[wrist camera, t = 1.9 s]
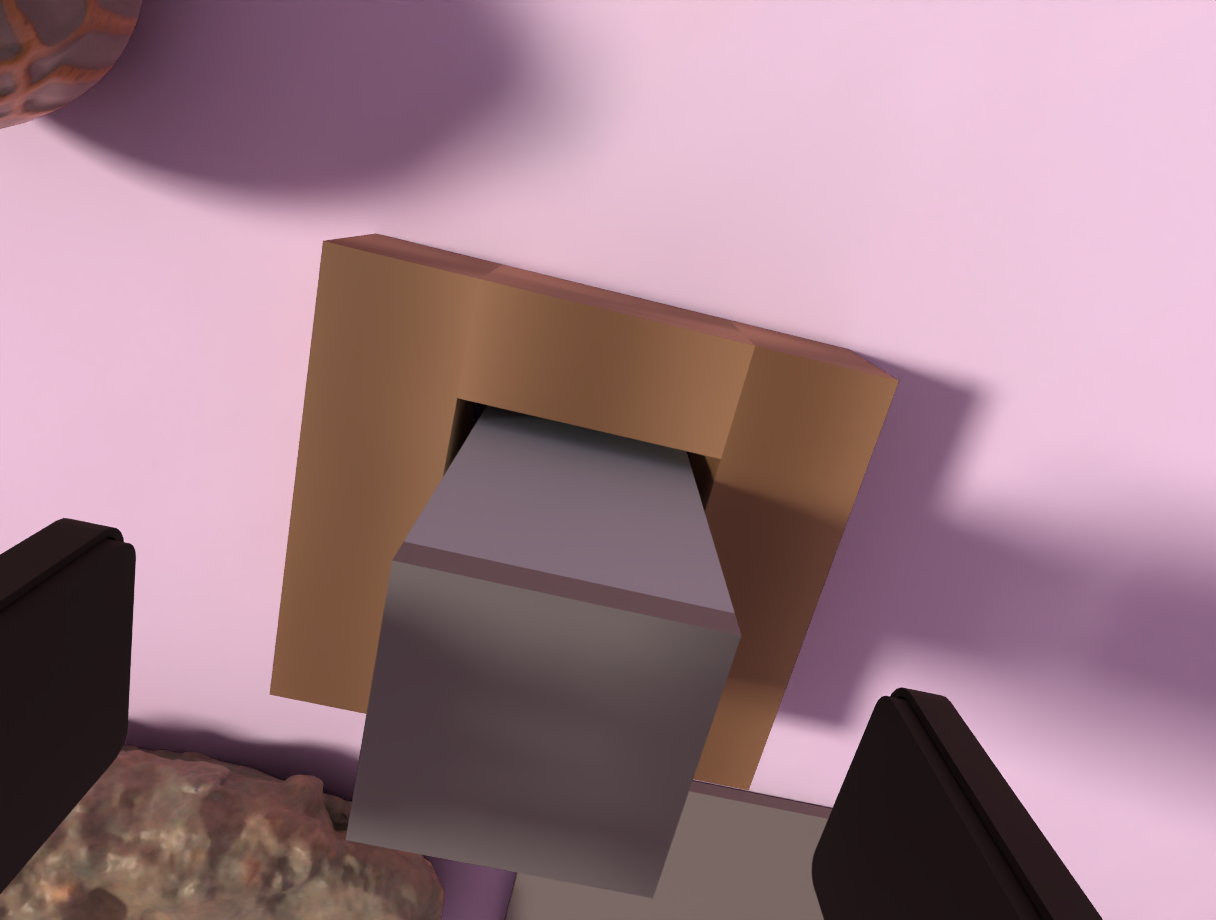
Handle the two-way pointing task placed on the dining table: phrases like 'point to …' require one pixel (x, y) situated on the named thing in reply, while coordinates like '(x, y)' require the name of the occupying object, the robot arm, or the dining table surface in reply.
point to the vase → (57, 51)
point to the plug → (547, 659)
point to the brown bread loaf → (214, 851)
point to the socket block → (574, 394)
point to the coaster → (706, 867)
